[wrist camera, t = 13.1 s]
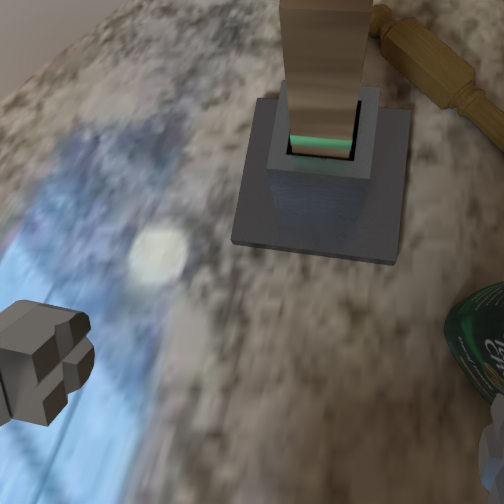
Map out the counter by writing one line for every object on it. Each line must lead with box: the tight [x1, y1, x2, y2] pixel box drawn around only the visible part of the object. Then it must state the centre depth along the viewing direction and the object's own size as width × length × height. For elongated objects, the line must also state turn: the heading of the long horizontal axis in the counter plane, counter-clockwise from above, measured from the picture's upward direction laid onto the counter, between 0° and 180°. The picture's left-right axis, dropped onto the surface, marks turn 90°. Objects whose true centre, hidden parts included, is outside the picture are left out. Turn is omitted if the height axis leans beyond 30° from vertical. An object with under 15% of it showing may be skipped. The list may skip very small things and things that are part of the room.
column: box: [279, 0, 373, 161], centre depth 28 cm, size 4×4×15 cm
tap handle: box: [368, 5, 504, 153], centre depth 41 cm, size 3×3×30 cm
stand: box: [231, 80, 411, 266], centre depth 38 cm, size 14×14×10 cm
